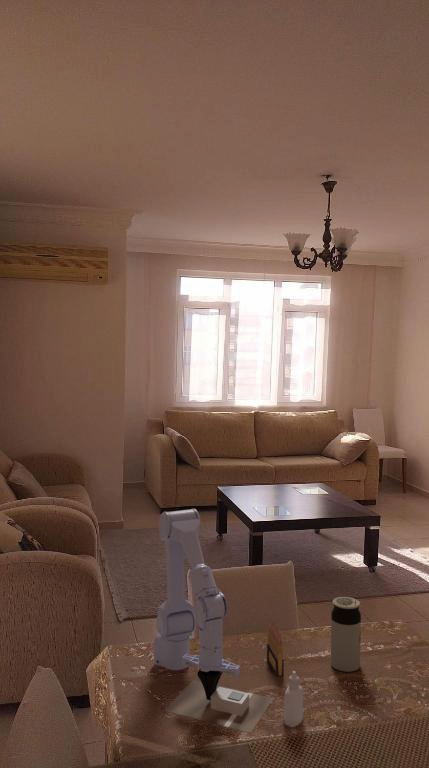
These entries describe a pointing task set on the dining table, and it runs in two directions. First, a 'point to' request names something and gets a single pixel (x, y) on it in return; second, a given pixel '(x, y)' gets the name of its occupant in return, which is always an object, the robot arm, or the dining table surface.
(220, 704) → the block
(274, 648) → the ammunition clip
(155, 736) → the dining table surface
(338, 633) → the travel mug
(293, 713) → the eye dropper bottle
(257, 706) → the subfloor panel
